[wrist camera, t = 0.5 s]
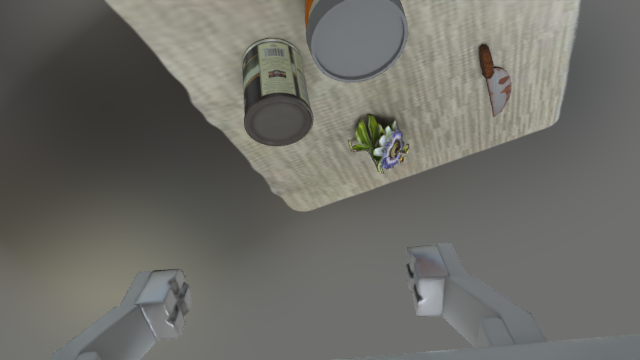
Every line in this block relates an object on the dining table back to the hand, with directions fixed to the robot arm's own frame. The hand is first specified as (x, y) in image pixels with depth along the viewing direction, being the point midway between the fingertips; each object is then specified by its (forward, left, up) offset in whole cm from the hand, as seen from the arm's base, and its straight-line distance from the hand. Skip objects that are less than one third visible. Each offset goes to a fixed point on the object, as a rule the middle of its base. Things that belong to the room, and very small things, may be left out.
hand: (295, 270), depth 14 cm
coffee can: (+20, -20, -50) cm, 57 cm away
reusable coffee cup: (+18, -3, -50) cm, 53 cm away
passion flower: (+48, -19, -50) cm, 72 cm away
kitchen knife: (+56, +6, -50) cm, 75 cm away
